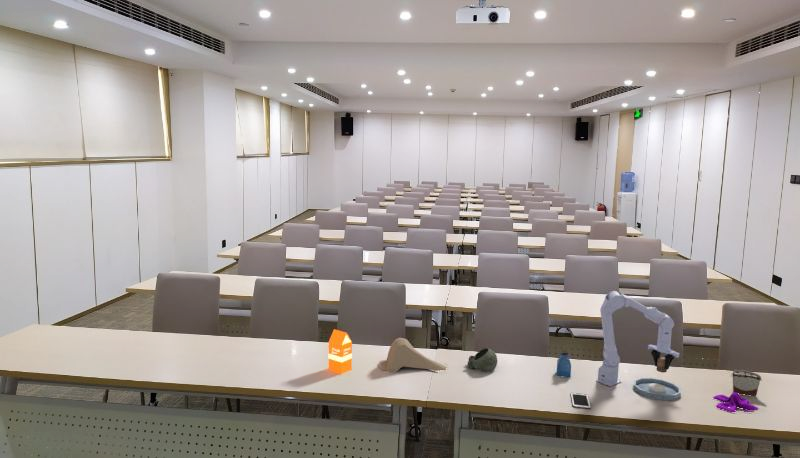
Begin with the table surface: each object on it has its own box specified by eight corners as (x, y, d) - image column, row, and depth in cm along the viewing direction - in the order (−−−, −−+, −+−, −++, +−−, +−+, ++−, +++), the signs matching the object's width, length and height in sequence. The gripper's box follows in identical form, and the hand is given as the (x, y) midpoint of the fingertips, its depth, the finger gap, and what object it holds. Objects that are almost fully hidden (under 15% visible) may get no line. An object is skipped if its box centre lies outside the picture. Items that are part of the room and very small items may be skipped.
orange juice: (338, 365, 290) (339, 327, 288) (351, 369, 285) (352, 330, 283) (328, 370, 284) (328, 331, 281) (341, 374, 279) (341, 334, 276)
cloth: (718, 413, 247) (719, 399, 247) (703, 395, 265) (705, 383, 265) (774, 418, 243) (776, 405, 243) (756, 400, 261) (757, 387, 261)
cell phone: (572, 408, 249) (572, 406, 249) (570, 394, 263) (570, 392, 263) (591, 410, 247) (591, 408, 247) (587, 396, 261) (587, 394, 261)
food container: (756, 392, 269) (758, 371, 268) (759, 397, 264) (762, 376, 262) (726, 388, 273) (728, 368, 272) (729, 393, 267) (731, 372, 266)
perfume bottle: (570, 377, 282) (571, 354, 280) (557, 376, 283) (558, 353, 281) (569, 373, 288) (570, 350, 286) (556, 371, 289) (558, 349, 287)
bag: (377, 379, 285) (447, 380, 280) (375, 347, 281) (446, 347, 276) (382, 361, 303) (448, 361, 299) (380, 331, 299) (447, 331, 295)
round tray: (665, 403, 254) (666, 399, 254) (625, 388, 270) (625, 383, 270) (688, 393, 266) (689, 388, 266) (648, 379, 282) (648, 374, 282)
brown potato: (663, 373, 271) (664, 361, 270) (654, 370, 274) (655, 358, 273) (668, 371, 273) (669, 359, 273) (659, 368, 277) (660, 356, 276)
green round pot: (467, 361, 300) (468, 343, 299) (496, 363, 298) (497, 345, 297) (467, 372, 285) (467, 353, 284) (497, 374, 284) (498, 355, 282)
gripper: (683, 342, 268) (681, 370, 270) (654, 334, 280) (651, 361, 282) (675, 345, 264) (673, 373, 266) (646, 337, 275) (644, 364, 277)
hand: (661, 367), depth 273 cm, fingers closed on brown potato, 4 cm apart
